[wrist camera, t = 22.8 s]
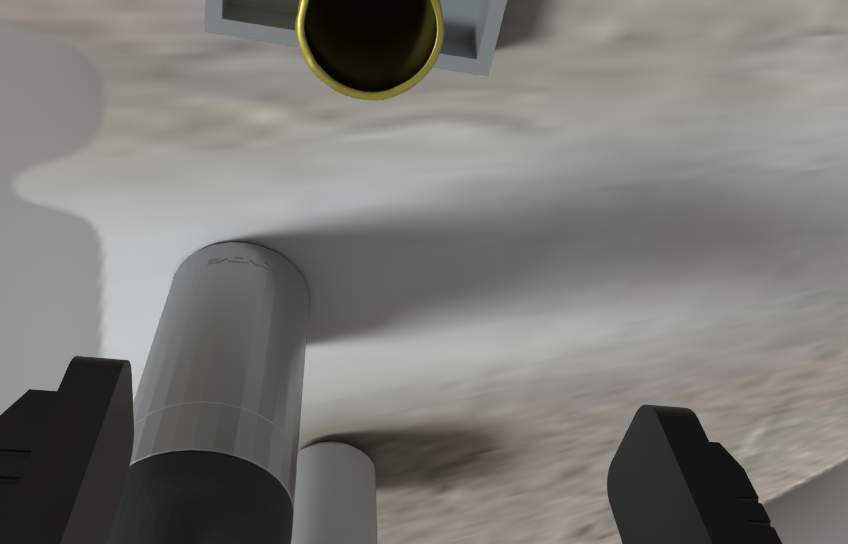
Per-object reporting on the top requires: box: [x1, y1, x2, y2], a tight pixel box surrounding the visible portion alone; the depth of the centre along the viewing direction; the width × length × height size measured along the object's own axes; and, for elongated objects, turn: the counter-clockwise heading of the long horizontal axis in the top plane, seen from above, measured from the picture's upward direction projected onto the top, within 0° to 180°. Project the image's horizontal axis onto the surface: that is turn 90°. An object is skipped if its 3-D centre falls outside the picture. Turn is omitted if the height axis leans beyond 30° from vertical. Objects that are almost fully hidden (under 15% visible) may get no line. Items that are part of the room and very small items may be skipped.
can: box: [291, 441, 377, 544], centre depth 58 cm, size 8×8×12 cm
